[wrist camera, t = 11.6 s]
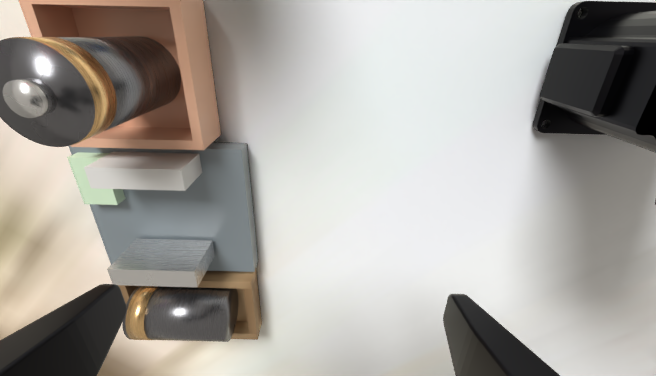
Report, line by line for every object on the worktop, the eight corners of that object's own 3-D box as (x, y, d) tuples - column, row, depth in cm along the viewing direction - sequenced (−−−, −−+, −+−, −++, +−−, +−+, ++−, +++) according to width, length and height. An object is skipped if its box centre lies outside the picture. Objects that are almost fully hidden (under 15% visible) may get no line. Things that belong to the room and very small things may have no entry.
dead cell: (186, 108, 18) (95, 154, 11) (122, 106, 18) (-9, 151, 11) (174, 36, 16) (59, 39, 9) (104, 34, 16) (-63, 35, 9)
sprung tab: (212, 240, 21) (194, 271, 18) (215, 255, 21) (197, 287, 19) (136, 238, 21) (107, 269, 18) (141, 253, 21) (113, 284, 19)
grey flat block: (246, 143, 19) (228, 165, 16) (258, 260, 23) (245, 297, 20) (83, 139, 19) (32, 160, 16) (122, 257, 23) (88, 293, 20)
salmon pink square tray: (203, 0, 16) (178, -7, 13) (221, 134, 19) (203, 150, 16) (65, -3, 16) (14, -10, 13) (105, 132, 19) (70, 146, 17)
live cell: (237, 278, 24) (221, 304, 20) (239, 321, 25) (223, 354, 21) (143, 275, 24) (110, 301, 20) (147, 319, 25) (116, 351, 21)
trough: (256, 267, 23) (251, 282, 22) (261, 322, 26) (257, 339, 25) (127, 263, 24) (114, 278, 22) (145, 319, 26) (134, 336, 25)
